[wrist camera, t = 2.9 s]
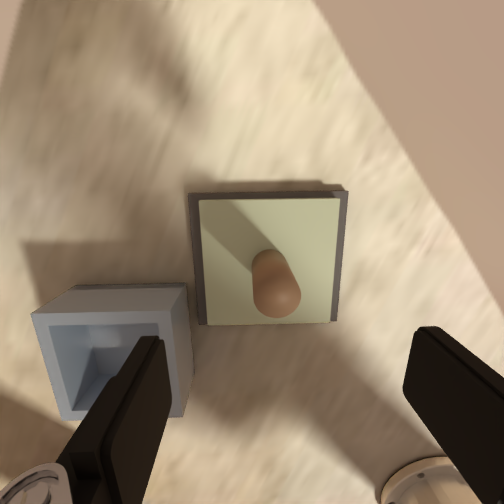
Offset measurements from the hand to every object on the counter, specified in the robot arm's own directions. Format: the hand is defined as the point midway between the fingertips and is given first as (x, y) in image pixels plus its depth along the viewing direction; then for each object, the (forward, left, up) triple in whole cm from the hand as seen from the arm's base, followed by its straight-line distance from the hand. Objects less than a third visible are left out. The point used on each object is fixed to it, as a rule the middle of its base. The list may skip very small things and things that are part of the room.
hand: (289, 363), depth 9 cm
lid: (0, 0, -13) cm, 13 cm away
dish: (+12, +7, -14) cm, 20 cm away
